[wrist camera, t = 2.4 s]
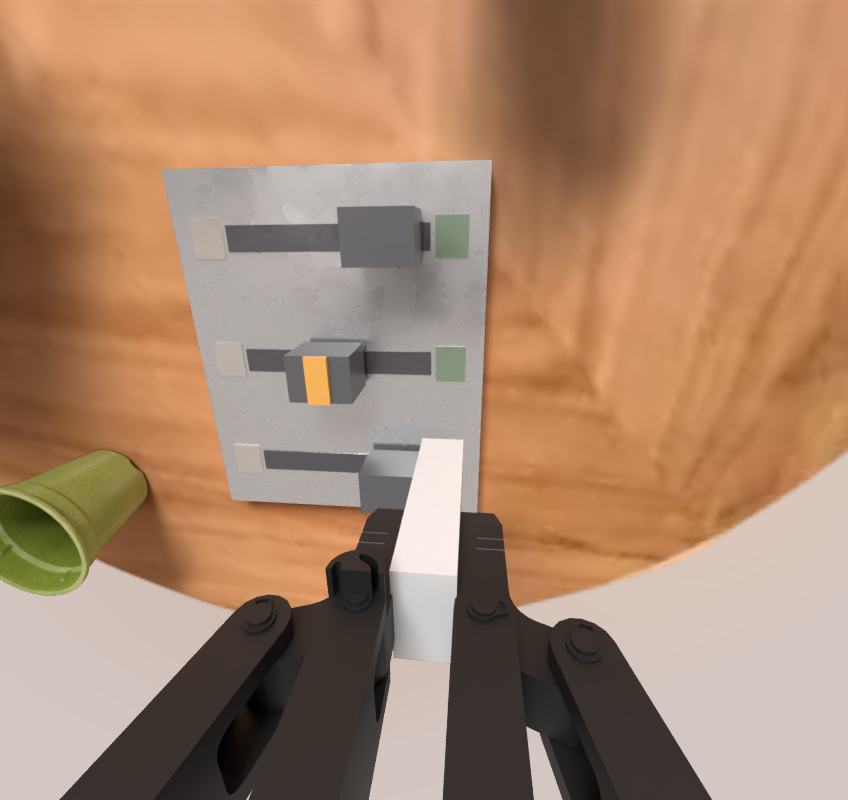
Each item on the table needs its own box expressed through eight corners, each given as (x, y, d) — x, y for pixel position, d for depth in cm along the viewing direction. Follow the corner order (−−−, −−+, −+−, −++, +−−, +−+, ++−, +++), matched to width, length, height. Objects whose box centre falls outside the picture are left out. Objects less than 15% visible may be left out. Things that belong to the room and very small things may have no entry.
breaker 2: (357, 263, 26) (341, 267, 23) (354, 210, 25) (336, 206, 22) (421, 263, 26) (414, 267, 22) (421, 209, 24) (413, 205, 21)
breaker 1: (309, 383, 29) (287, 404, 26) (304, 341, 28) (281, 357, 25) (365, 385, 29) (351, 406, 25) (362, 342, 28) (347, 358, 24)
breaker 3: (372, 484, 32) (361, 512, 29) (370, 449, 31) (358, 474, 28) (424, 486, 31) (419, 515, 28) (424, 451, 30) (418, 477, 27)
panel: (244, 486, 36) (231, 500, 34) (182, 173, 27) (160, 169, 25) (476, 498, 34) (477, 514, 32) (490, 165, 25) (492, 159, 23)
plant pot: (172, 530, 39) (95, 607, 31) (77, 513, 40) (-23, 584, 32) (161, 442, 36) (71, 502, 27) (56, 424, 36) (-63, 479, 28)
